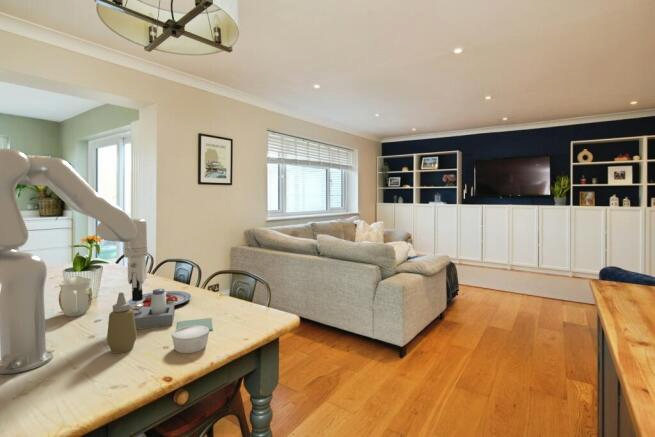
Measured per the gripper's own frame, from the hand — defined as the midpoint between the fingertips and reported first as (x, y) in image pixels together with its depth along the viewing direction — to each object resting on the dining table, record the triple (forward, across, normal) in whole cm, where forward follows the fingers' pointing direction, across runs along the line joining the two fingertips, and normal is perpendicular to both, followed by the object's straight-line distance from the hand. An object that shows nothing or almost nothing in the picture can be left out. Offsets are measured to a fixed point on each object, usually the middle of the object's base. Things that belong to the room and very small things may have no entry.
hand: (137, 300), depth 127 cm
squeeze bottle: (+9, -23, +1) cm, 25 cm away
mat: (+9, -10, -20) cm, 24 cm away
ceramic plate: (+10, +25, -5) cm, 27 cm away
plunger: (+6, 0, 0) cm, 6 cm away
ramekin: (+9, -28, -19) cm, 35 cm away
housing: (+9, 0, -4) cm, 10 cm away
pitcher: (+9, +19, +25) cm, 32 cm away
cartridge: (+9, 0, -7) cm, 11 cm away
